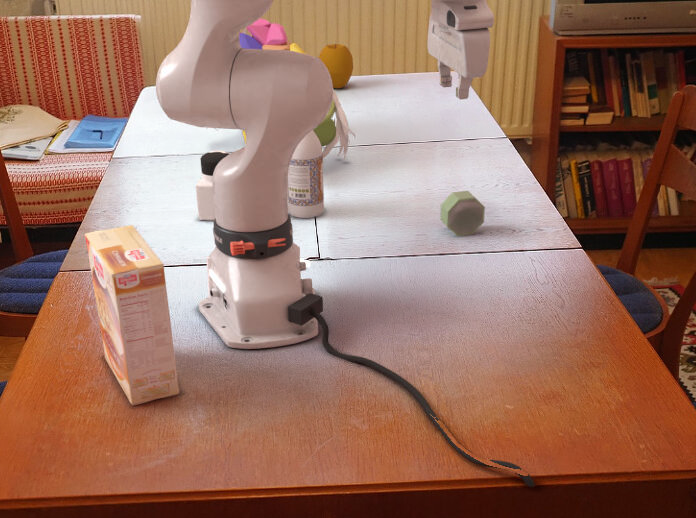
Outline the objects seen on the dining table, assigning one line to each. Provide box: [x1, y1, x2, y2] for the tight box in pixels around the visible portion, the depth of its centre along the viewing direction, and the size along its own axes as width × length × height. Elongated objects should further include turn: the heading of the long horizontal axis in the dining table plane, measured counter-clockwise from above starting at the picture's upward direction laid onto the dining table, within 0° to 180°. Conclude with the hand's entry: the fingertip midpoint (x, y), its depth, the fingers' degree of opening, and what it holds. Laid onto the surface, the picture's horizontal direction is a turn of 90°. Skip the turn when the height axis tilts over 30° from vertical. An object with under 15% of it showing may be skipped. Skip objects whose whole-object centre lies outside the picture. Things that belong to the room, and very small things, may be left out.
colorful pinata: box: [214, 17, 356, 160], centre depth 214 cm, size 32×29×35 cm
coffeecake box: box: [84, 224, 180, 406], centre depth 132 cm, size 15×7×20 cm, turn 23°
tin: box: [440, 190, 486, 237], centre depth 175 cm, size 4×7×7 cm, turn 102°
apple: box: [318, 42, 354, 89], centre depth 262 cm, size 10×10×12 cm
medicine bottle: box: [195, 150, 231, 222], centre depth 185 cm, size 7×7×12 cm
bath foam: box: [287, 130, 325, 219], centre depth 182 cm, size 7×7×20 cm
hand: (453, 92), depth 170 cm, fingers open, 7 cm apart
